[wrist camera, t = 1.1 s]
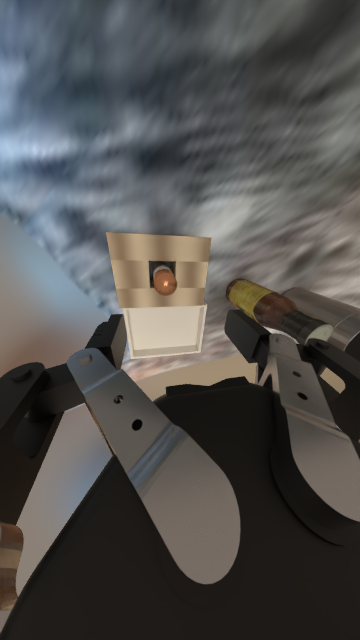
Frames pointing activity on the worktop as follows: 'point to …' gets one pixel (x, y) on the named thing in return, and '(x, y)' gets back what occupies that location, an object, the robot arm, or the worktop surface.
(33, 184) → the worktop surface
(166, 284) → the copper and grey cylinder
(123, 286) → the block
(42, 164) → the worktop surface
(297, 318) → the sauce bottle
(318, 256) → the worktop surface
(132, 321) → the tray
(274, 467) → the robot arm
